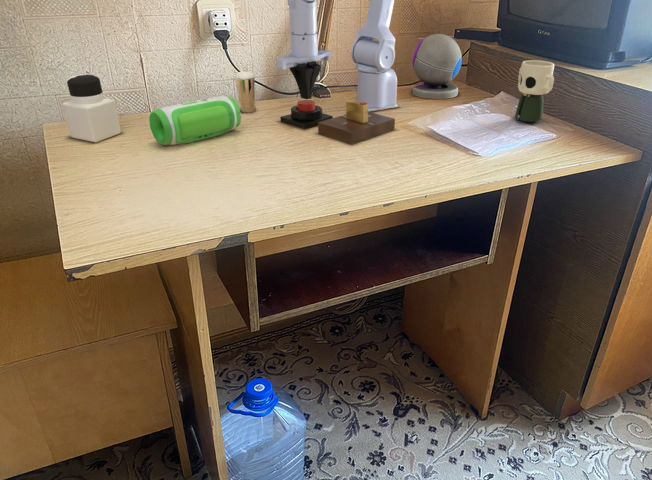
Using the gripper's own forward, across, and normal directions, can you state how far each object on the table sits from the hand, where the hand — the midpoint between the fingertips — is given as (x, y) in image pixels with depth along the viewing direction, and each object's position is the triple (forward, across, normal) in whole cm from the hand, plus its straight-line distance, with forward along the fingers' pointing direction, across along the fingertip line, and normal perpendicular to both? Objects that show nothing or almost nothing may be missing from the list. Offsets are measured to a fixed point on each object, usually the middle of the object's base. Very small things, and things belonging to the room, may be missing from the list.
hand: (306, 98), depth 123 cm
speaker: (+5, -24, +8) cm, 26 cm away
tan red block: (+3, +3, -13) cm, 14 cm away
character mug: (+6, +38, -36) cm, 53 cm away
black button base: (+5, 0, 0) cm, 5 cm away
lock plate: (+5, +3, -13) cm, 14 cm away
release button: (+3, 0, 0) cm, 3 cm away
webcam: (+6, +43, -5) cm, 44 cm away
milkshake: (+6, -4, +17) cm, 18 cm away
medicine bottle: (+5, -38, +24) cm, 45 cm away
